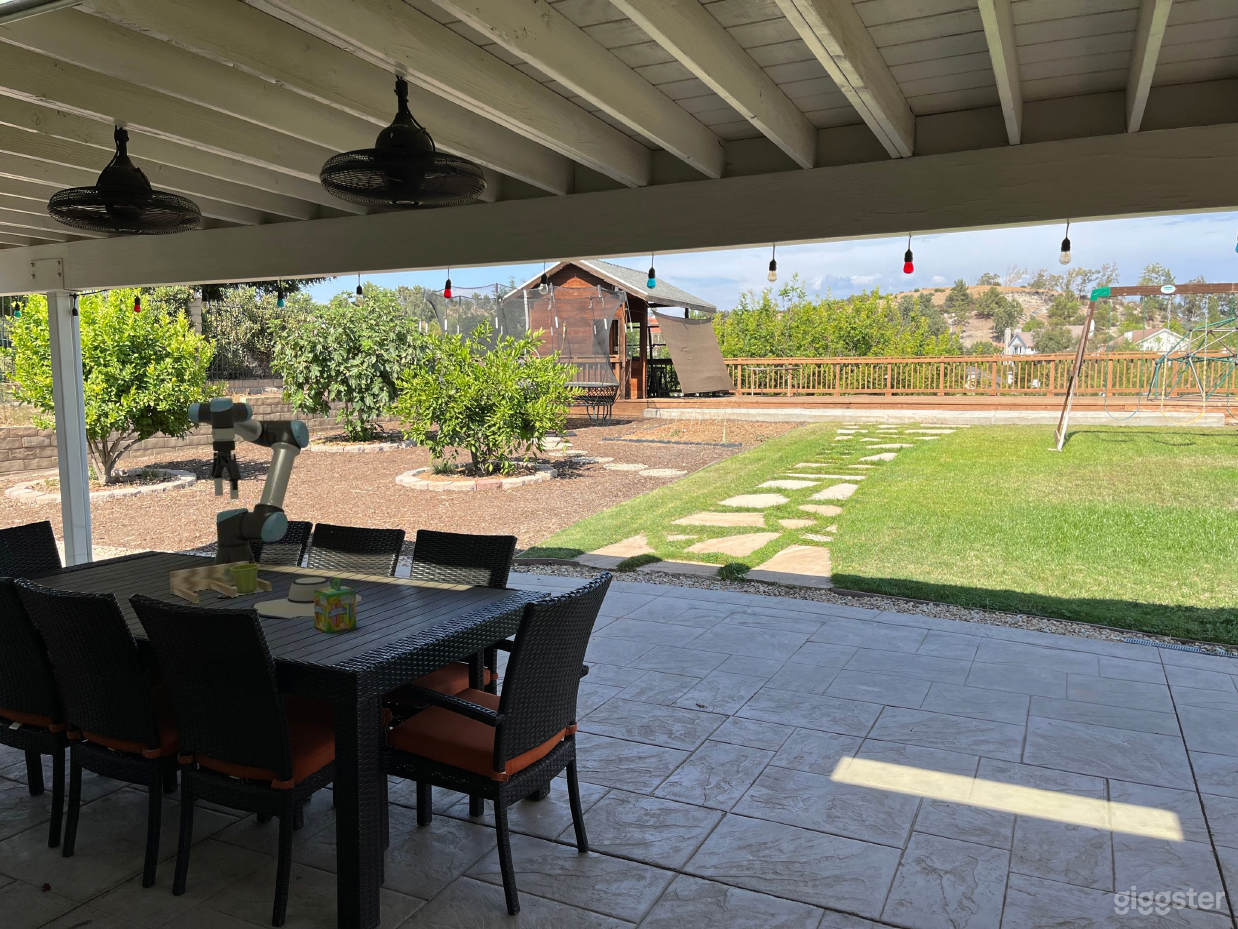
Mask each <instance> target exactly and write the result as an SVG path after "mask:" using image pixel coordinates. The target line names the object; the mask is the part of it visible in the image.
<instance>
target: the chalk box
mask: <svg viewBox="0 0 1238 929" xmlns="http://www.w3.org/2000/svg"><path fill="white" fill-rule="evenodd" d="M336 582H337V585H336ZM356 594H357V591H356V589H354V588H351V587H350V586H349V587H348V586H346V585H342V578H339V577H336V576H334V577H333V579H332V583H331V587H328V588H321V589H315V590H314V619H313V620H314V624H313V625H314V628H317V629H319V630H321V631H323V632H325V633H328V634H330V633H329V632H331V633H335V632H340V631H346V630H348V629H349V630H351V629H356V628H357V606H356Z"/></svg>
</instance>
